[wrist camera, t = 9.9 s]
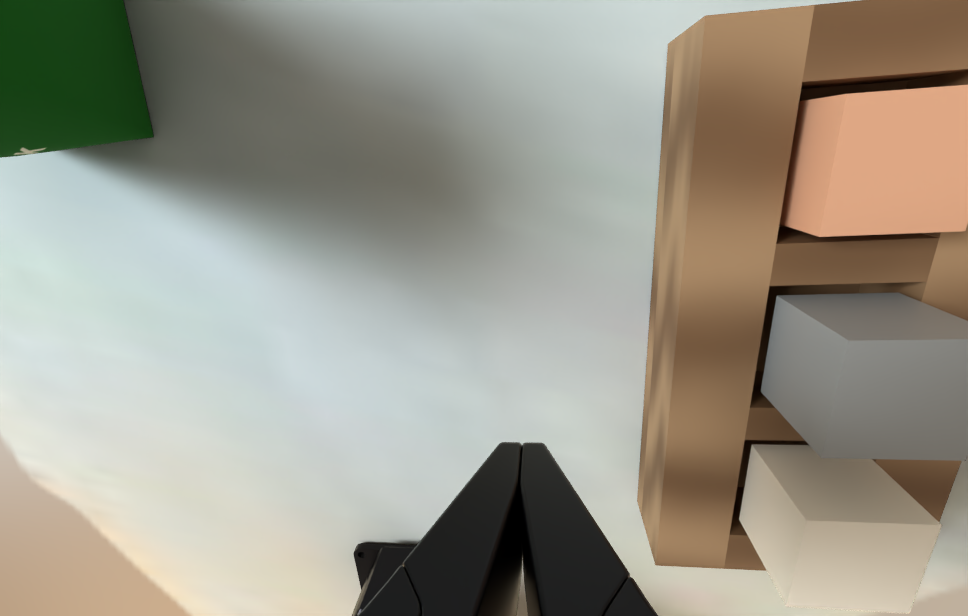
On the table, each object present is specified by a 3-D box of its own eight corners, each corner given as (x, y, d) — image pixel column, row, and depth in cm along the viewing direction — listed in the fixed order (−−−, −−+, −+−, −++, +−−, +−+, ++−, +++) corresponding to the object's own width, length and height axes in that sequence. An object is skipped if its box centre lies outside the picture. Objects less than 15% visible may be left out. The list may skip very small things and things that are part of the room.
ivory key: (837, 522, 19) (909, 613, 16) (739, 519, 20) (786, 606, 16) (857, 446, 18) (942, 525, 14) (751, 444, 18) (806, 520, 15)
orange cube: (870, 212, 17) (965, 231, 13) (758, 216, 17) (819, 237, 14) (896, 96, 16) (1010, 81, 12) (774, 105, 16) (846, 93, 12)
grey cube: (871, 391, 17) (965, 460, 13) (760, 391, 18) (821, 458, 14) (898, 292, 16) (1010, 338, 12) (776, 295, 16) (848, 340, 12)
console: (857, 507, 23) (918, 577, 19) (637, 500, 24) (655, 565, 21) (994, 14, 16) (1139, -28, 12) (668, 44, 17) (705, 15, 13)
